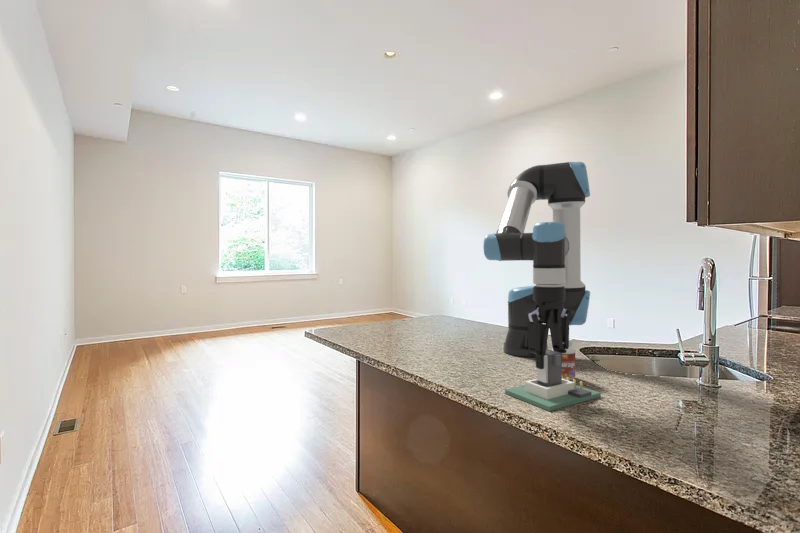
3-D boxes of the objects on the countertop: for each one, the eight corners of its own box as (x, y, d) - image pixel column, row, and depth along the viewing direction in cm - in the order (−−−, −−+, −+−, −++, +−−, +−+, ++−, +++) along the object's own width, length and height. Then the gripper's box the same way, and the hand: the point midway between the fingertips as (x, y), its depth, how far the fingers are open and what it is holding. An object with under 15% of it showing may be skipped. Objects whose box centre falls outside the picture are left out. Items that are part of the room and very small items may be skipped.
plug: (548, 381, 108) (548, 349, 108) (564, 386, 104) (564, 353, 104) (537, 383, 106) (537, 351, 106) (552, 388, 102) (552, 355, 102)
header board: (554, 381, 117) (554, 369, 117) (600, 396, 105) (600, 382, 105) (505, 393, 108) (505, 379, 108) (549, 411, 96) (549, 395, 96)
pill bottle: (557, 381, 118) (556, 341, 117) (548, 374, 124) (548, 336, 123) (579, 380, 118) (579, 340, 117) (569, 374, 124) (569, 336, 124)
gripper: (560, 282, 112) (560, 371, 113) (512, 286, 104) (512, 381, 105) (585, 284, 106) (585, 378, 107) (536, 288, 97) (536, 389, 98)
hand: (549, 379), depth 106 cm, fingers closed on plug, 4 cm apart
